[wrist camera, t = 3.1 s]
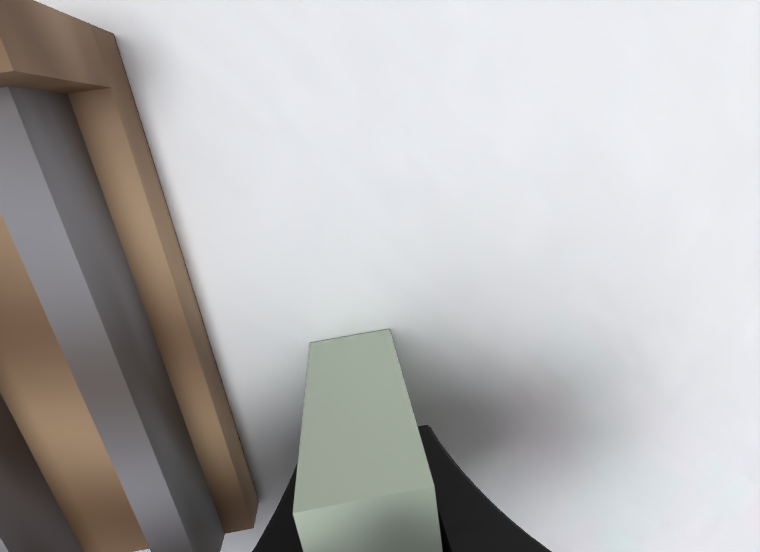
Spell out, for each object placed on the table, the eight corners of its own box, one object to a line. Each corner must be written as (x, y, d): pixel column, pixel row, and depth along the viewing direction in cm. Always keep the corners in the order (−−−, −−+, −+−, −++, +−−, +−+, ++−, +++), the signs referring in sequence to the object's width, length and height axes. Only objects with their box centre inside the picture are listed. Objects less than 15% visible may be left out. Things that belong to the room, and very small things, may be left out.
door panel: (415, 504, 15) (464, 726, 10) (348, 518, 15) (358, 749, 10) (389, 328, 13) (434, 485, 7) (309, 342, 13) (292, 513, 7)
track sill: (258, 501, 15) (233, 633, 11) (44, 543, 14) (-59, 694, 10) (113, 33, 10) (-23, -24, 6) (-215, 77, 9) (-579, 46, 6)
